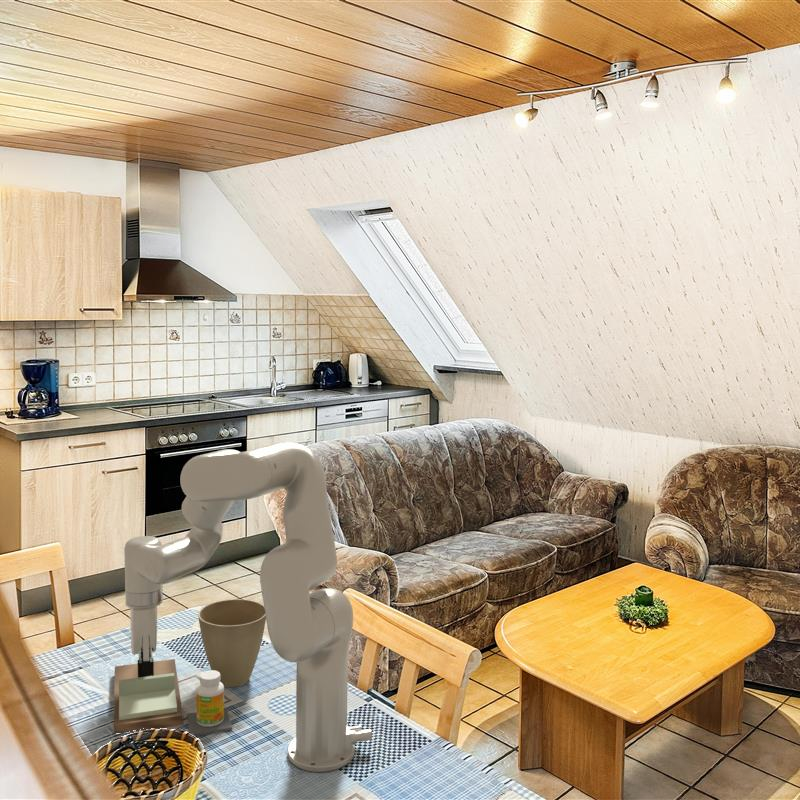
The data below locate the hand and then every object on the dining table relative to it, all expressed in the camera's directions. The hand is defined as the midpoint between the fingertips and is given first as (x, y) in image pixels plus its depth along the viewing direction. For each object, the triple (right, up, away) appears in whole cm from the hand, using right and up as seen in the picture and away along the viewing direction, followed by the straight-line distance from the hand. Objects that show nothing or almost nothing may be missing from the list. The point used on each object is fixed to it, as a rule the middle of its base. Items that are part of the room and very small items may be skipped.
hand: (145, 677), depth 170 cm
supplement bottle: (+16, -5, -11) cm, 20 cm away
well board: (+1, -4, -1) cm, 4 cm away
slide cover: (+3, -3, -8) cm, 9 cm away
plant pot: (+17, -3, +8) cm, 19 cm away
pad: (+16, -5, -11) cm, 20 cm away
